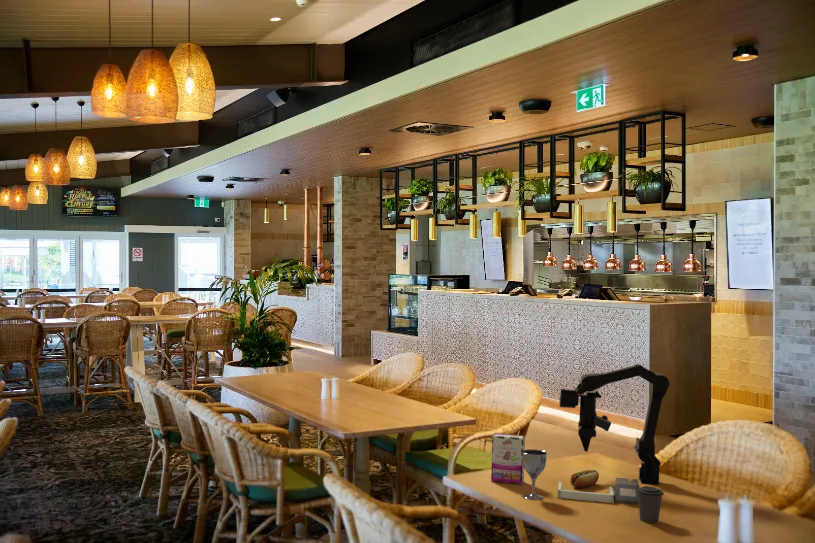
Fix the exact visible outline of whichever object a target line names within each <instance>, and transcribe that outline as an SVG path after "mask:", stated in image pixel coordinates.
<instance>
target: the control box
mask: <svg viewBox="0 0 815 543" xmlns="http://www.w3.org/2000/svg"><path fill="white" fill-rule="evenodd" d="M638 480H639V479H637V478H636V479H635V478H625V477H624V478H623V477H615V491H614V492H613V494H614V502H615V503H621V502H622V504H623V503H624V504H632V503H633V505H639V499H638V492H637V489H638V488H639V487H640V483H639V481H638Z"/></svg>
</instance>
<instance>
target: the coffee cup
mask: <svg viewBox="0 0 815 543" xmlns="http://www.w3.org/2000/svg"><path fill="white" fill-rule="evenodd" d="M637 492H638V499H639V504H638V510H639V512H638V514H639V521H641V522H642V521H643V522H642V523H645V522H646V523H645V524H659V519H660V518H659V517H660V513H661V506H662V499H663V496H664V495H665V493H664V491H663V490H662V489H659V488H658V487H654V486H648V485H644V486H641V487H640V486H639V488H638V489H637Z"/></svg>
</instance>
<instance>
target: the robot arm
mask: <svg viewBox="0 0 815 543" xmlns="http://www.w3.org/2000/svg"><path fill="white" fill-rule="evenodd" d="M635 377H640V378H641V379H644V380H645V381H646V382H649V396H650V397H649V402H648V407H647V410H646V416H645V421H644V426H643V431H642V434H641V436H640V438H639V437H635V438H636V439H635V445H634V446H633V448H634V450H635V454H636V456H637V457H638V459H639V460H640V461H641V462H640V466H639V467H638V480H640V483H642V484H651V485H660V484H661V483H660V467H661V461H660V460H659V458H658V457H657V456H656V455H655V454H656V444H655V435H656V431H657V426H658V420H659V416H660V411H661V408H662V407H661V406H662V402H663V399H664V398H665V396H666V393H667V392H668V389H669V387H670V380H669V379H668V377H667V376H665V375H664V374H662V373H661V372H653V371H651V370H650V369H648V368H646V367H644V366H643V365H642V364H639V363H636V364H633V365H630V366H627V367H622V368H619V369H615V370H611V371H607V372H602V373H601V372H600V373H598V372H596V373H586V374H584V375H582V376H581V378H580V382H579V383H578V384H577V386H576V387H575V388H574V389H566V388H561V389H560V394H559V400H558V401H559V408H565V409H576V407H577V406H579V420H578V421H577V423H578V424H577V425H578V430H577V433H578V434H577V436H578V437H579V440H580V441H581V445H582V447H583V450H584V452H588V450H589V447H590V442H591V440H592V438H597V430H596V428H597V427H598V428H599V429H602V430H604V432H605V431H606V432H609V430H610V428H611V425H612V421H611V420H608V419H609V418H608V416H607V415H604V414H603V415H602V416H598V415H597V412H596V408H597V406H596V405H597V399H602V398H603V397H602V394H600V392H599V391H598V390H599V389H601V388H602V387H604V386H606V385H608V384H612V383H616V382H619V381H625V380H629V379H631V378H635Z"/></svg>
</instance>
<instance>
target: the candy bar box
mask: <svg viewBox="0 0 815 543" xmlns="http://www.w3.org/2000/svg"><path fill="white" fill-rule="evenodd" d="M491 439H492V442H491V443H492V444H491V470H490V471H491V476H490V479H491V480H490V481H491V482H494V483H502V484H504V483H505V484H509V485H510V484H511V485H522V484H523V483H524V481H525V469H524V466H523V450H526V448H525V447H526V446H525V445H526V436H525V435H517V434H516V435H515V434H504V433H494V434H493V435H492V438H491Z"/></svg>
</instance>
